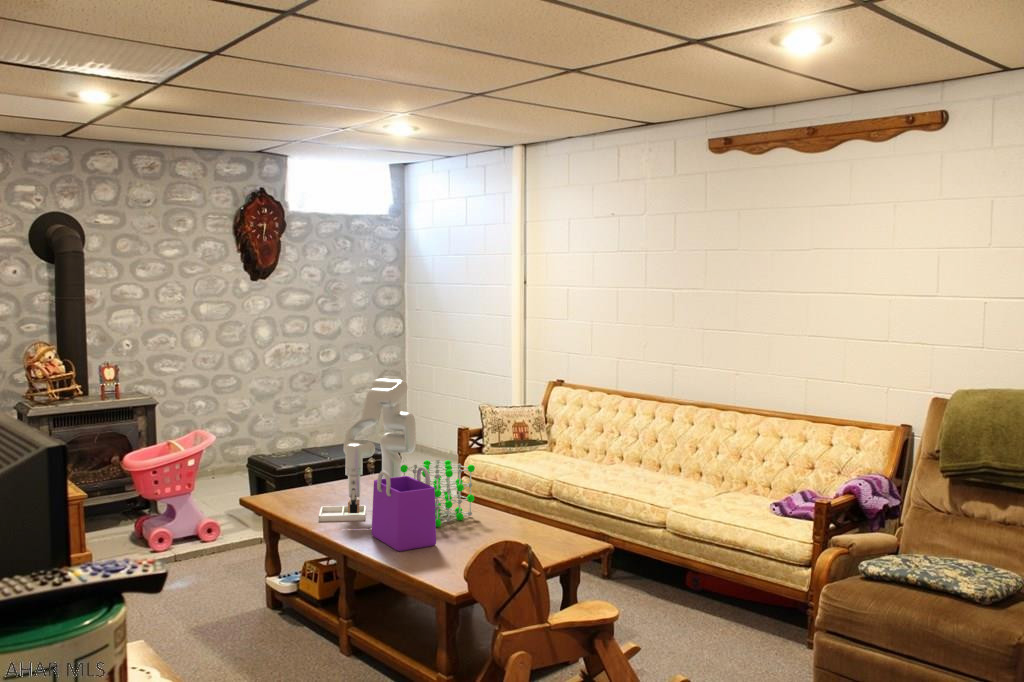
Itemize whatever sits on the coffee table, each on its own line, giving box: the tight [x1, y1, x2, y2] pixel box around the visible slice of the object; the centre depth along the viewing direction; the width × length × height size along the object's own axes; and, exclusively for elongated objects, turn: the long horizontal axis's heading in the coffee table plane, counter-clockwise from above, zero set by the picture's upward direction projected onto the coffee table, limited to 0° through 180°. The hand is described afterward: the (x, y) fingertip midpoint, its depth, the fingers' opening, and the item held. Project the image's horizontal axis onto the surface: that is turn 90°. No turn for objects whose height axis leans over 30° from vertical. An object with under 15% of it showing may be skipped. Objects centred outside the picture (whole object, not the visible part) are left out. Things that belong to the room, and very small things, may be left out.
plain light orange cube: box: [347, 498, 361, 513], centre depth 387 cm, size 5×5×5 cm
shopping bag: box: [371, 466, 437, 552], centre depth 352 cm, size 28×22×30 cm
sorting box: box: [318, 505, 367, 522], centre depth 387 cm, size 20×16×3 cm
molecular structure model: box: [400, 458, 476, 528], centre depth 388 cm, size 24×25×24 cm
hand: (353, 510), depth 388 cm, fingers closed on plain light orange cube, 4 cm apart
